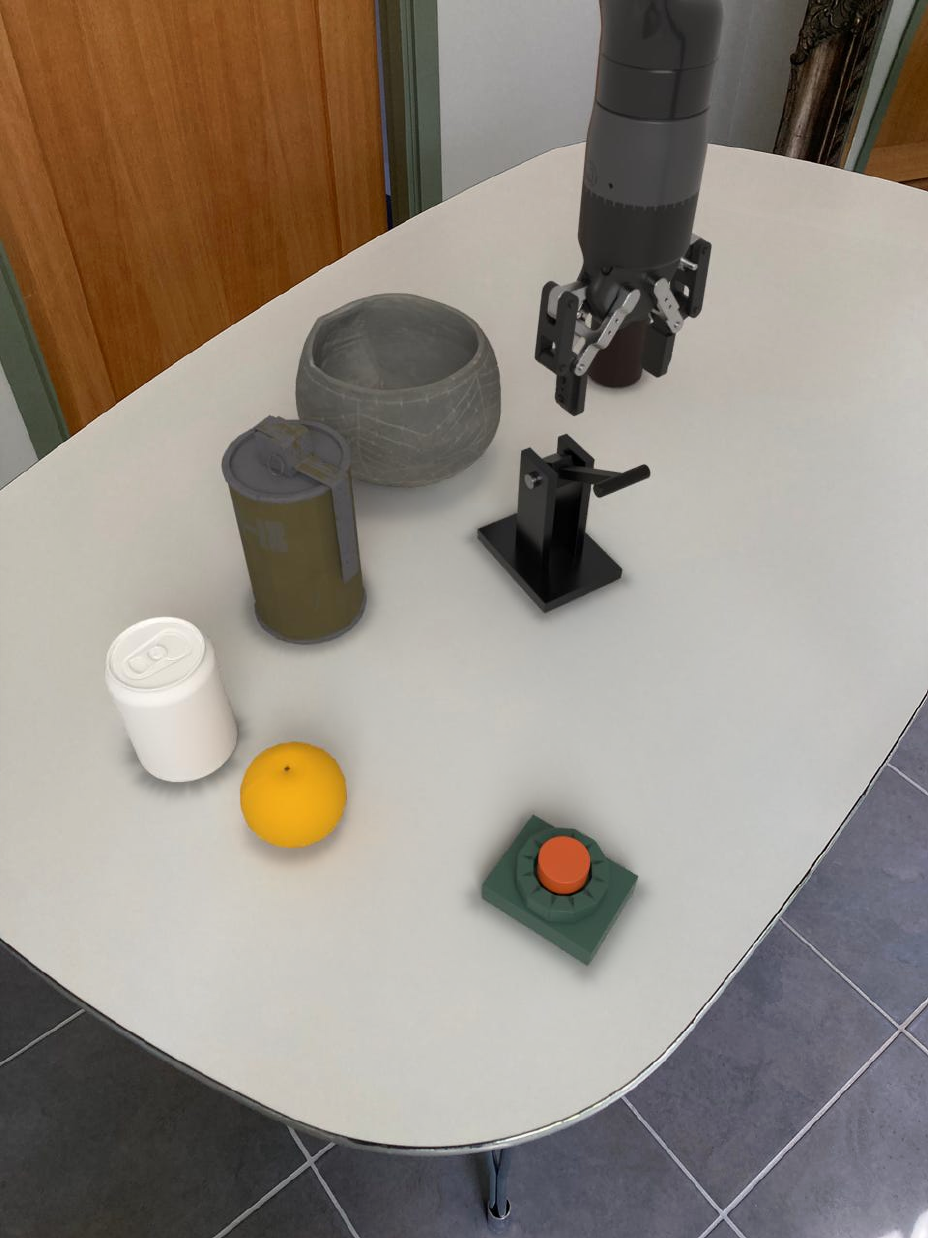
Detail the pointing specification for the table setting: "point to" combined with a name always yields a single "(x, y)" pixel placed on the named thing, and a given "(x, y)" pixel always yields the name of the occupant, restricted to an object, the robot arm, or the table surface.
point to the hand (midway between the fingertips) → (612, 390)
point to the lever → (594, 475)
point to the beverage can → (171, 698)
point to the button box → (559, 916)
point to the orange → (293, 794)
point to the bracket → (551, 534)
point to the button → (563, 865)
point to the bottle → (620, 356)
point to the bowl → (402, 387)
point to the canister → (297, 527)
